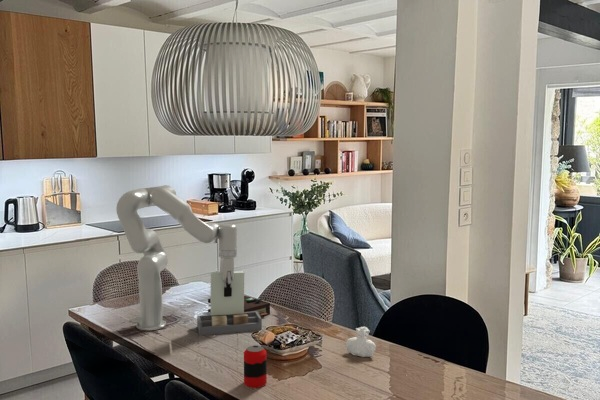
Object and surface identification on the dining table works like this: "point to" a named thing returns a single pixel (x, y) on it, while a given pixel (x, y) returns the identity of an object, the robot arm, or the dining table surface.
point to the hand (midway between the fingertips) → (227, 295)
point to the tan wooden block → (240, 319)
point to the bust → (361, 344)
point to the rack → (228, 324)
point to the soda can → (255, 367)
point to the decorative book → (253, 305)
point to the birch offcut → (219, 320)
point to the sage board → (227, 304)
